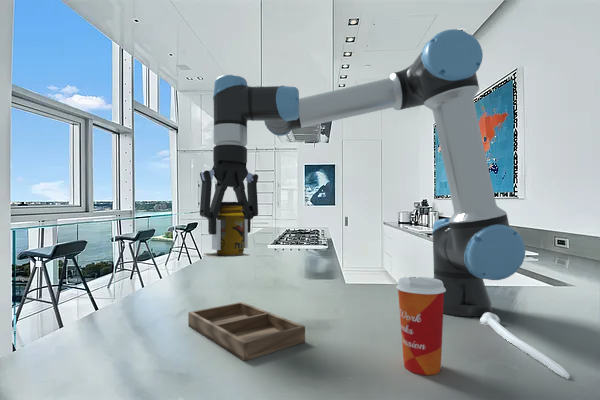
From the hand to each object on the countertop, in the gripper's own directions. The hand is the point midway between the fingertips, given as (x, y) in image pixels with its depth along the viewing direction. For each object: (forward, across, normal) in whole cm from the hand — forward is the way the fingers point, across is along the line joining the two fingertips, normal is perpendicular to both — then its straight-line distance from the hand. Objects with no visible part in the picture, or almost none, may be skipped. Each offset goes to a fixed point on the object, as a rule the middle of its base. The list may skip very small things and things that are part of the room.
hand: (230, 248), depth 79 cm
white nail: (+18, -37, +46) cm, 61 cm away
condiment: (+2, +1, 0) cm, 2 cm away
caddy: (+17, 0, +6) cm, 18 cm away
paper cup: (+17, -14, +39) cm, 45 cm away
